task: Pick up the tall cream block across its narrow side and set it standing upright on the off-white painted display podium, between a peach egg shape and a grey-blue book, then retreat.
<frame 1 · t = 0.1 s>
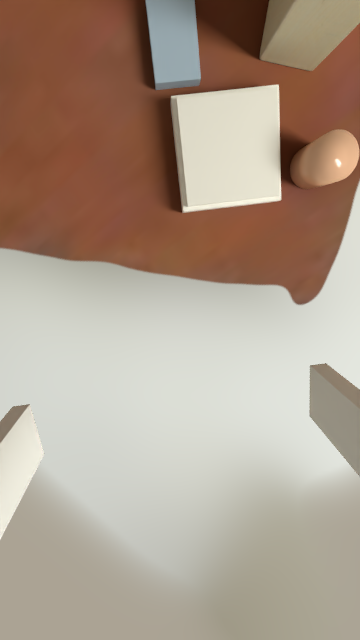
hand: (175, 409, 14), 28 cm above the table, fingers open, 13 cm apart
podium: (225, 155, 37), on the table
peach egg shape: (309, 167, 38), on the table
book: (172, 47, 34), on the table
tall cream block: (296, 28, 34), on the table
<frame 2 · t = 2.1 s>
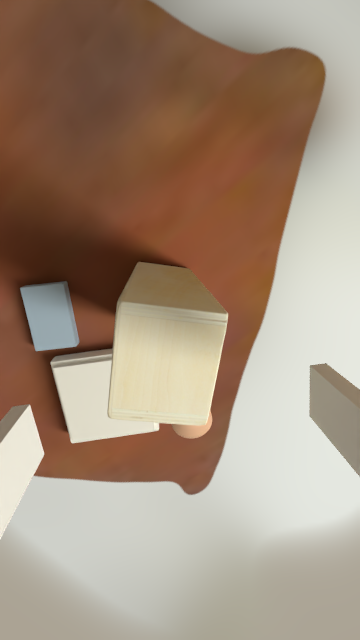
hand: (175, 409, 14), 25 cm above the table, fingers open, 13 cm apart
podium: (109, 390, 41), on the table
peach egg shape: (187, 395, 43), on the table
book: (54, 313, 38), on the table
tall cream block: (163, 296, 39), on the table
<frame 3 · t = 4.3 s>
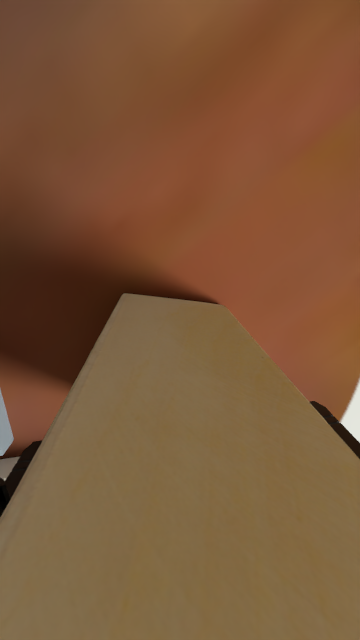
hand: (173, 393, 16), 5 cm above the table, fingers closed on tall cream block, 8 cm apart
tall cream block: (172, 355, 20), on the table, touching gripper
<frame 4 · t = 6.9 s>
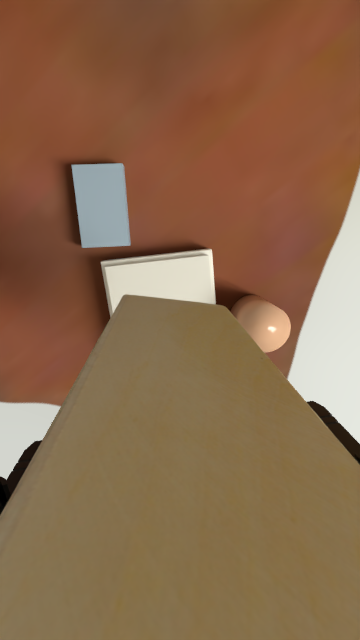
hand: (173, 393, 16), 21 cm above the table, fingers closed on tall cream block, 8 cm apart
podium: (163, 305, 36), on the table
peach egg shape: (250, 314, 37), on the table
book: (104, 208, 33), on the table
tall cream block: (173, 356, 20), point 16 cm above the table, touching gripper
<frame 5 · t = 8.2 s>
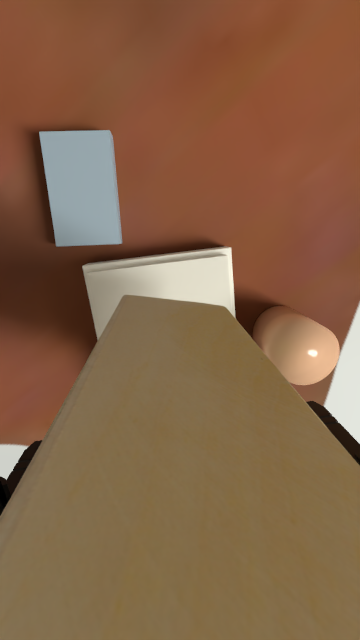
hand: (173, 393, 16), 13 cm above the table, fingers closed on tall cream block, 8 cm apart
podium: (166, 320, 28), on the table
peach egg shape: (278, 331, 29), on the table
book: (87, 194, 25), on the table
tall cream block: (173, 356, 20), point 8 cm above the table, touching gripper
when the fingers open (9 cm above the table, at t = 9.3 s): tall cream block stays where it is, resting on podium.
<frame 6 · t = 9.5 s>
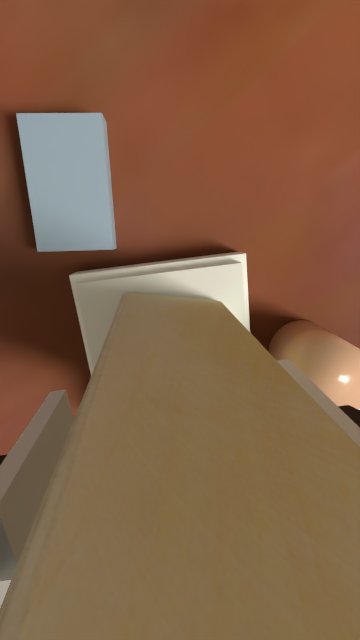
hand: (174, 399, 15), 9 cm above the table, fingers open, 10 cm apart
podium: (168, 337, 24), on the table
peach egg shape: (297, 349, 25), on the table
book: (76, 190, 21), on the table
tall cream block: (172, 350, 21), point 3 cm above the table, touching podium
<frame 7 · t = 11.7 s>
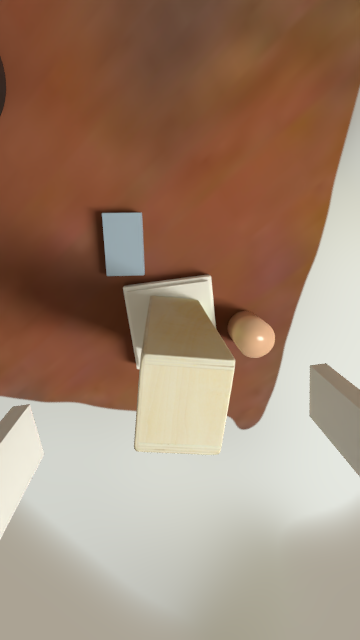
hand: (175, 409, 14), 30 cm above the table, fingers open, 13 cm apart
podium: (172, 320, 44), on the table
peach egg shape: (244, 327, 45), on the table
book: (125, 244, 42), on the table
tall cream block: (174, 325, 42), point 3 cm above the table, touching podium
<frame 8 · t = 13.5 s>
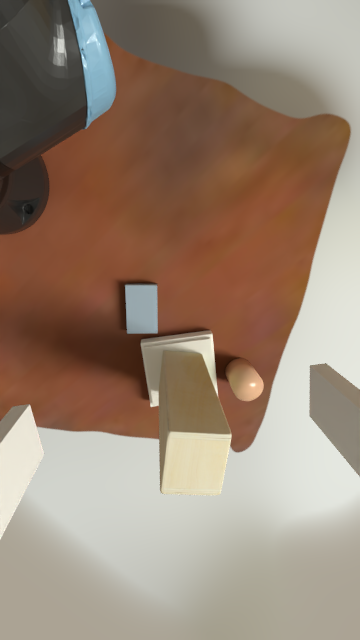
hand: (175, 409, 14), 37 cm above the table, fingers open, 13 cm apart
podium: (179, 366, 54), on the table
peach egg shape: (238, 371, 55), on the table
book: (142, 307, 51), on the table
tall cream block: (182, 372, 51), point 3 cm above the table, touching podium
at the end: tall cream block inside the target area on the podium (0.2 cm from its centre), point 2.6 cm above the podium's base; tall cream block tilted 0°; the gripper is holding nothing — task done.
